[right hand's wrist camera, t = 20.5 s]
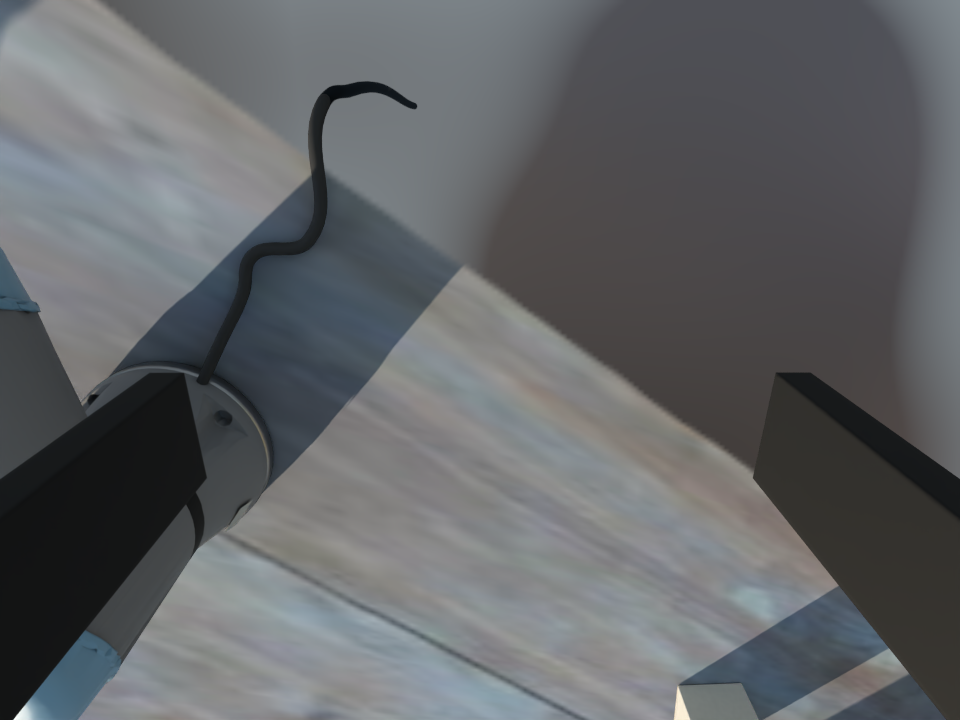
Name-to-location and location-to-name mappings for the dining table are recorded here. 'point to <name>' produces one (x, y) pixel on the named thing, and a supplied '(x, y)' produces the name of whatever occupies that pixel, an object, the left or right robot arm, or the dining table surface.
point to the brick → (713, 702)
